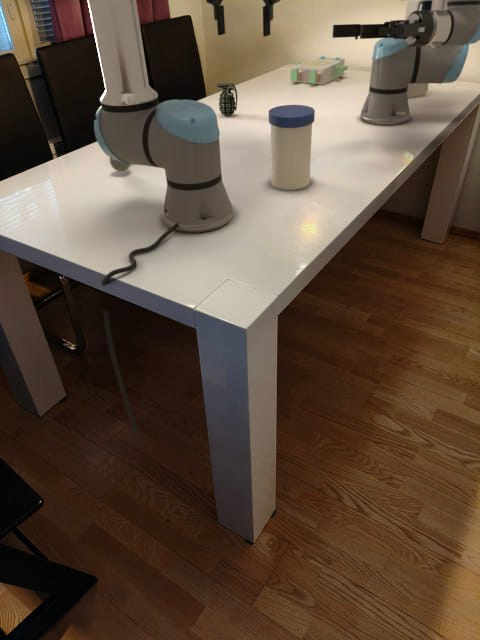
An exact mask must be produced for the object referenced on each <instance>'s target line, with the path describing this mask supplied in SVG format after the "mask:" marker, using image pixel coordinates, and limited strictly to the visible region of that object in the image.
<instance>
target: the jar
mask: <svg viewBox="0 0 480 640" xmlns="http://www.w3.org/2000/svg"><path fill="white" fill-rule="evenodd" d="M312 133H313V123H312V124H310V125H307V126H303V127H295V128H284V127H277V126H273V125H271V124H270V156H271V157H270V175H271V176H270V178H271V179H270V180H271V182H270V183H271V185H272V186H273V187H274V188H276V189H279V190H284V191H295V190H296V191H297V190H302V189H304V188H306V187H308V186H309V185H310V183H311V161H312V159H311V157H312V136H313V135H312Z"/></svg>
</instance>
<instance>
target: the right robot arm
mask: <svg viewBox="0 0 480 640" xmlns="http://www.w3.org/2000/svg"><path fill="white" fill-rule="evenodd" d="M402 1H404V0H401V2H402ZM331 37H332V38H333V39H336V38H337V39H339V38H354V40H357V41H358V39H360V40H365V39H379V40H377V41H376V42H375V44H374V46H373V52H372V56H371V61H372V63H371V69H370V70H371V72H370V78H369V86H368V94H367V97H366V99H365V101H364V103H363V106H362V109H361V112H360V120H361V121H363V122H365V123H368V124H371V125H376V126H378V125H379V126H393V125H395V126H396V125H400V124H404V123H406V122H408V121H409V120H410V117H411V116H410V115H411V112H410V111H411V110H410V104H409V97H407V89H408V84H410V83H428V84H439V85H442V84H452V83H454V82H456V81H457V80H458V79H459V77H460V76H461V74H462V71H463V69H464V67H465V64H466V61H467V57H468V53H469V49H470V45H473V44H477V43H478V42H479V41H480V0H432V7H431V10H429V11H421V10H419V11H414V12H412V13H411V14H410V15H409V16H408V18H407V20H405V19H397V20H396V19H395V20H390V21H385V22H384V23H371V24H369V23H368V24H367V23H364V24H363V23H362V24H360V23H349V24H347V23H345V24H332V35H331Z"/></svg>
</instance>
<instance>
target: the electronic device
mask: <svg viewBox="0 0 480 640" xmlns="http://www.w3.org/2000/svg"><path fill="white" fill-rule="evenodd" d="M431 7H432V0H406V7H405V14H404V15H405V16H404V20H407V18H408V16H409V15H410V14H411V13H412V12H414V11H429V10H431ZM428 91H429V83H410V84H408V89H407V97H408V98H415V97H422V96H425V95H426V94H427V93H428Z"/></svg>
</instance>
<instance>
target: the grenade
mask: <svg viewBox="0 0 480 640" xmlns="http://www.w3.org/2000/svg"><path fill="white" fill-rule="evenodd" d="M215 87H217V88H219V89H221V93H219V97H218V101H219V102H218V106H219V108H218V109H219V112H220V114H221V115H222V116H224V117H231V116H233V115H234V113H235V112H236V111H237V108H238V89H237V87H236V85H235V84H234V83H233V82H218V83H217V84H216V86H215ZM232 91H233V92H232ZM234 94H235V96H234Z"/></svg>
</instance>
